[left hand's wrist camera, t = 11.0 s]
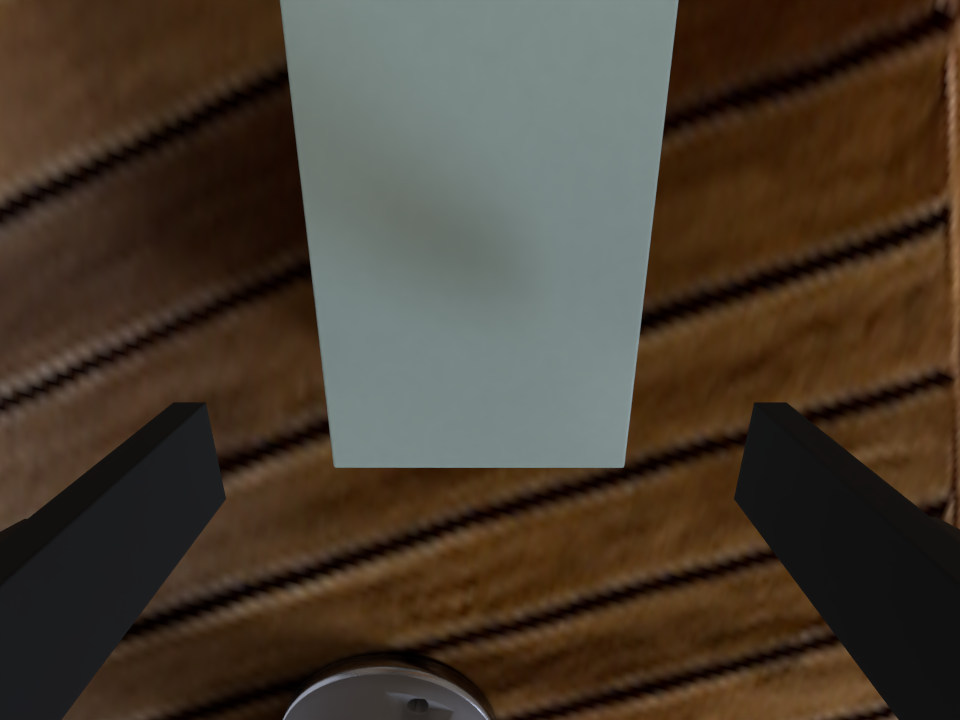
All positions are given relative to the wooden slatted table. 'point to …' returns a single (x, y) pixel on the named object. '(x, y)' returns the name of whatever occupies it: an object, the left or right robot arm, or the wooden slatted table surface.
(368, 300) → the cabinet
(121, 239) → the wooden slatted table surface
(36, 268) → the wooden slatted table surface
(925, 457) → the wooden slatted table surface
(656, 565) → the wooden slatted table surface
